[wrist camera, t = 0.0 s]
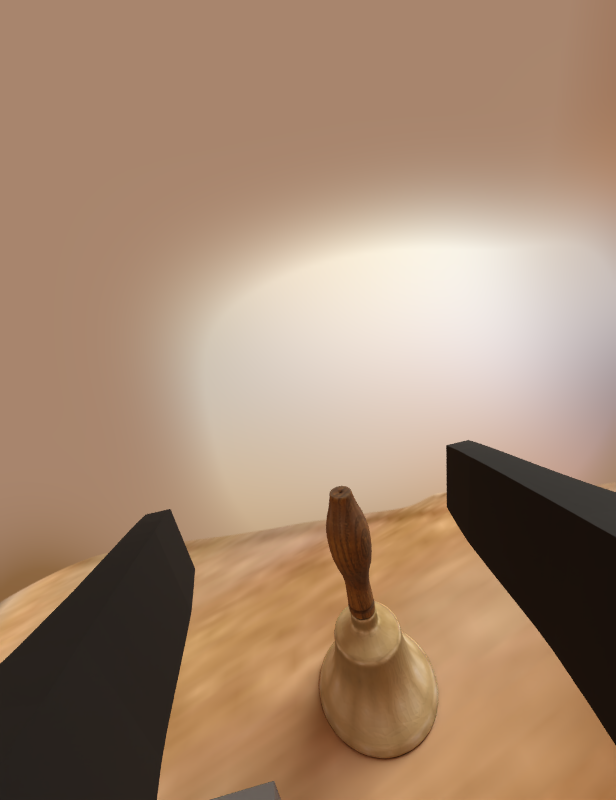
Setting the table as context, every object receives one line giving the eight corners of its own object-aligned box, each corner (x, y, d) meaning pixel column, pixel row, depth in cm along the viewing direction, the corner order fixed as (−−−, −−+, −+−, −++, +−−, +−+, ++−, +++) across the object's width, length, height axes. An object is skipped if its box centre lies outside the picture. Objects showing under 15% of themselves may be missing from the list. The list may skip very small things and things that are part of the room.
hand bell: (312, 753, 21) (254, 548, 16) (325, 625, 29) (289, 462, 24) (452, 765, 19) (436, 542, 14) (426, 626, 27) (409, 451, 22)
